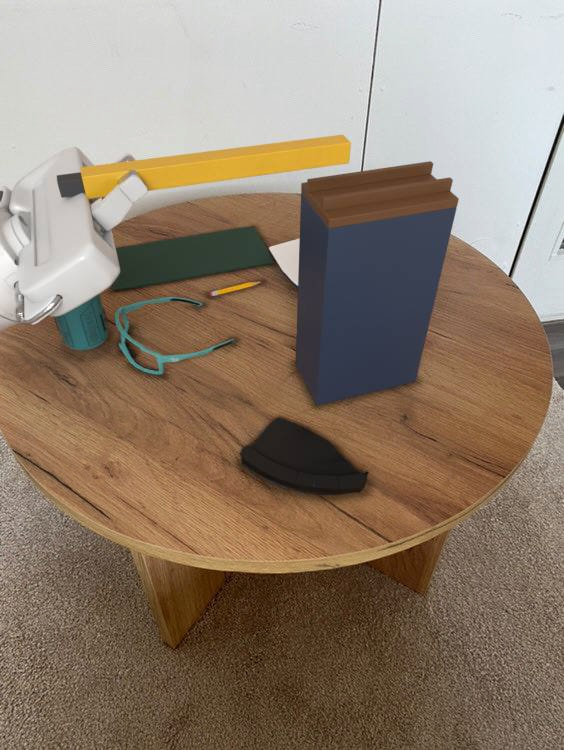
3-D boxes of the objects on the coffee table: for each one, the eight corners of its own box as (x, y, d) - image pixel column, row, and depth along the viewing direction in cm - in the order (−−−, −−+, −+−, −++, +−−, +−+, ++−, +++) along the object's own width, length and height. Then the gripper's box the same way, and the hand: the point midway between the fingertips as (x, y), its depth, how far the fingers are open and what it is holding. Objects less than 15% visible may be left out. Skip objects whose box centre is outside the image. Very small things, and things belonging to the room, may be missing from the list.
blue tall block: (316, 406, 73) (330, 208, 54) (295, 364, 79) (301, 171, 60) (415, 381, 76) (461, 187, 57) (389, 343, 82) (423, 154, 63)
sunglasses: (102, 331, 83) (98, 302, 80) (196, 305, 90) (196, 278, 87) (142, 390, 75) (139, 360, 71) (242, 357, 82) (244, 328, 78)
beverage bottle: (116, 353, 80) (82, 222, 66) (66, 365, 78) (21, 233, 64) (108, 324, 84) (75, 196, 70) (61, 335, 83) (17, 206, 69)
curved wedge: (338, 524, 61) (339, 515, 60) (236, 464, 67) (236, 455, 65) (376, 471, 66) (378, 462, 65) (278, 419, 72) (278, 410, 70)
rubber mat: (114, 291, 90) (114, 289, 90) (106, 251, 98) (105, 249, 98) (274, 263, 96) (274, 261, 96) (253, 227, 104) (253, 225, 104)
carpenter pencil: (62, 203, 49) (56, 180, 47) (61, 192, 50) (55, 169, 49) (349, 163, 55) (351, 142, 53) (341, 155, 56) (343, 134, 55)
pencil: (209, 295, 90) (208, 291, 90) (260, 282, 93) (260, 278, 92) (211, 298, 90) (210, 294, 89) (262, 285, 92) (262, 281, 92)
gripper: (-18, 309, 43) (130, 198, 41) (-9, 186, 57) (102, 99, 55) (47, 355, 47) (184, 258, 45) (41, 231, 61) (145, 152, 59)
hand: (139, 170), depth 50 cm, fingers closed on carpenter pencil, 2 cm apart
